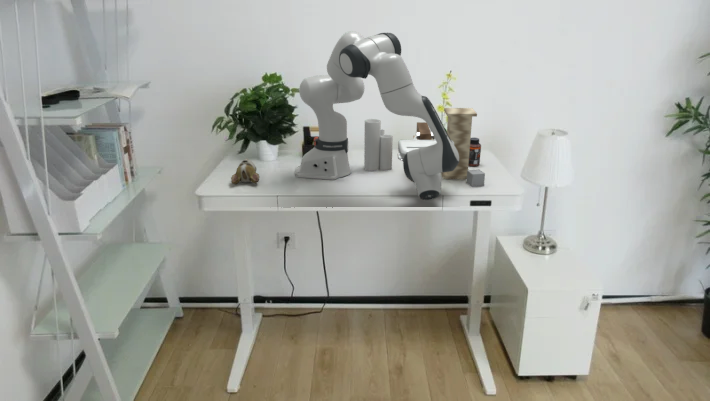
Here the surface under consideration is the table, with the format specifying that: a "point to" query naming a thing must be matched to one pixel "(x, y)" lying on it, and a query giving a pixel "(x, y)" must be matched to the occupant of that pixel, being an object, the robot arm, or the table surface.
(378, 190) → the table surface
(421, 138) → the walnut rail
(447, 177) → the birch stand
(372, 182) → the table surface
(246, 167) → the ceramic sculpture
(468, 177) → the grey block
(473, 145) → the supplement bottle
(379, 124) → the vase
